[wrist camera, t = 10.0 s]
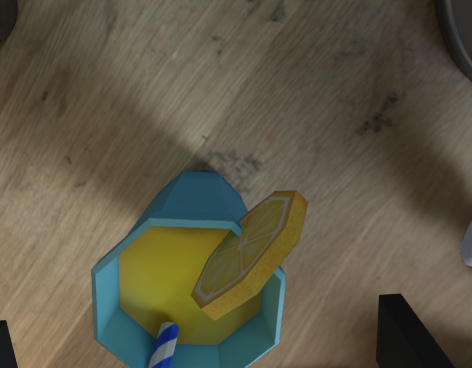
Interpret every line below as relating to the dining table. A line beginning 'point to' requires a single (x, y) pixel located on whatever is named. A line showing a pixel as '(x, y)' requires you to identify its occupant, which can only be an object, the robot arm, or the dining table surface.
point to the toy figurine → (467, 246)
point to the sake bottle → (7, 17)
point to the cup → (197, 277)
